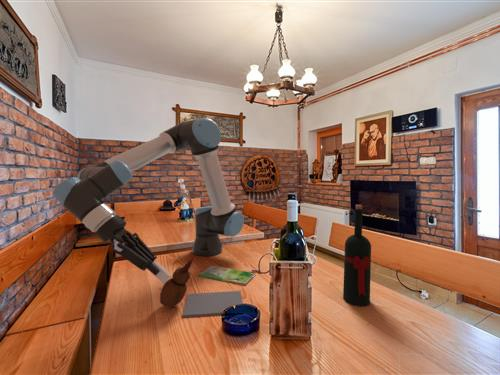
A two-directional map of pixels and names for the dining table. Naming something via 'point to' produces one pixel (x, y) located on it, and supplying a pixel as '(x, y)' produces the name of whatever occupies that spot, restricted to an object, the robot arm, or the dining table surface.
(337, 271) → the dining table surface
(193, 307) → the charcoal rubber mat
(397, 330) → the dining table surface
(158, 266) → the robot arm
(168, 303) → the wooden figurine
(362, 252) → the wine bottle
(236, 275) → the green number grid board
